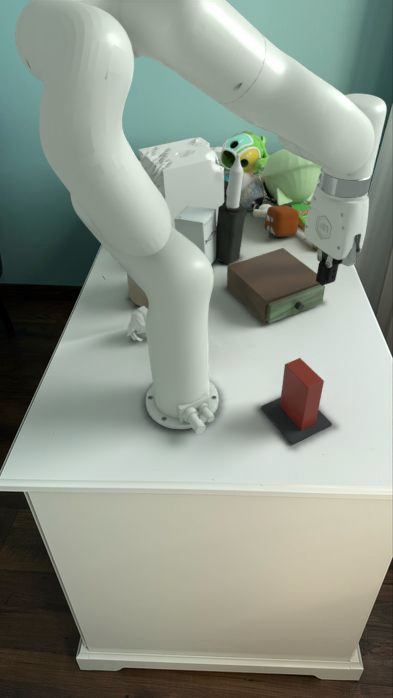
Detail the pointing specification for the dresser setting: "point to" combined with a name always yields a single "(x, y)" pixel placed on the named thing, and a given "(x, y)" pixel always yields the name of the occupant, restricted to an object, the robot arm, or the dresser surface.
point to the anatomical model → (251, 191)
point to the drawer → (295, 303)
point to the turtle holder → (245, 152)
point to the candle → (231, 218)
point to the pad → (289, 426)
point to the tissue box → (185, 174)
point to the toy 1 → (289, 178)
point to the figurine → (137, 323)
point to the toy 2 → (278, 219)
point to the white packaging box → (199, 228)
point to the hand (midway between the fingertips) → (325, 281)
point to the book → (301, 393)
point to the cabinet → (268, 280)
